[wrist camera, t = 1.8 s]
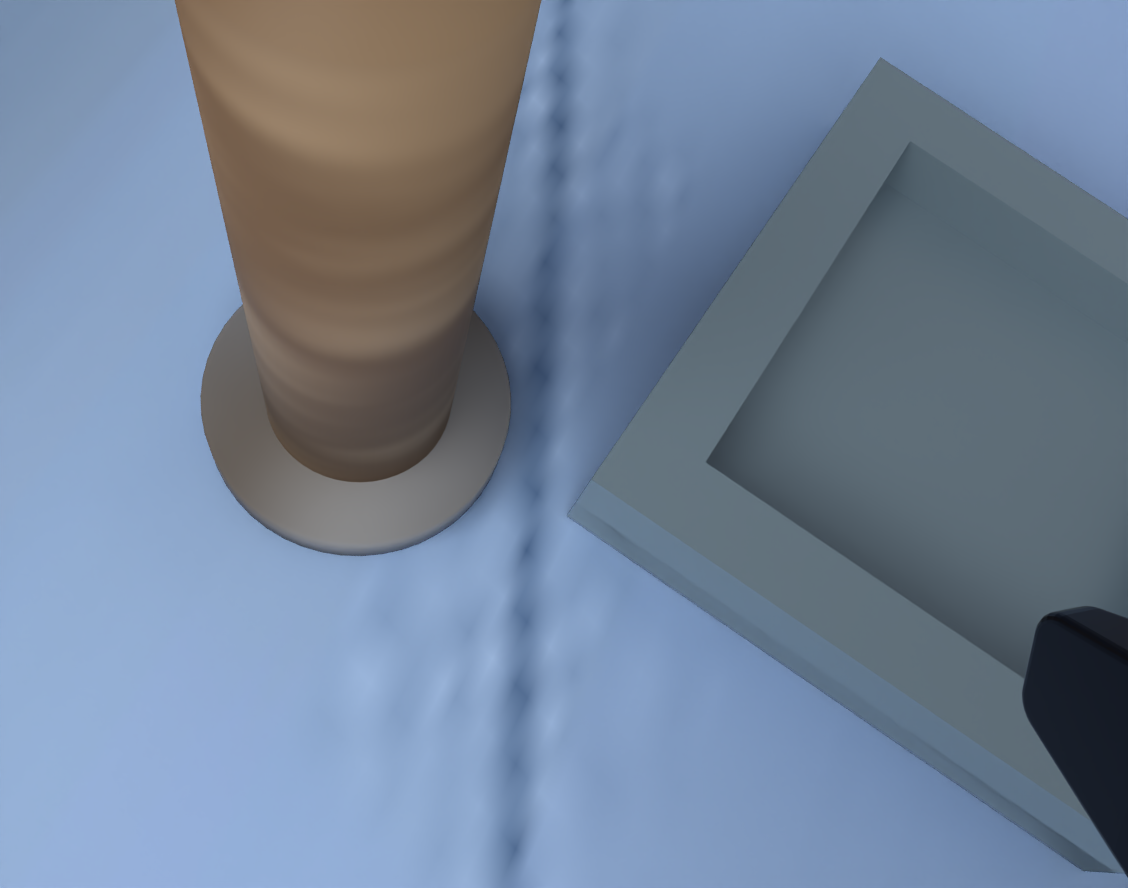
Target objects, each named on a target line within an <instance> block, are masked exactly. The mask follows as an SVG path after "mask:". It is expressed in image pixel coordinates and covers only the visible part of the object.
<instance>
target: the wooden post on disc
mask: <svg viewBox="0 0 1128 888" xmlns="http://www.w3.org/2000/svg"><path fill="white" fill-rule="evenodd" d="M540 3H541V0H175V4H176V8H177V13H178V17H179V22H180V26H181V31H182V35H183V39H184V44H185V48H186V53H187V57H188V62H189V66H190V71H191V75H192V80H193V84H194V88H195V93H196V97H197V102H198V106H199V111H200V115H201V120H202V124H203V129H204V133H205V137H206V142H207V146H208V151H209V155H210V160H211V164H212V169H213V173H214V178H215V182H216V186H217V191H218V195H219V200H220V204H221V209H222V213H223V218H224V222H225V227H226V231H227V236H228V240H229V244H230V249H231V253H232V258H233V262H234V267H235V271H236V276H237V280H238V285H239V289H240V293H241V298H242V302H243V305H242V306H241V307H240V308H239V309H238V310H237V311H236V312H235V313H234V314H233V316H232V317H231V318H230V319H229V321H228V322H227V323H226V324H225V326H224V327H223V329H222V331H221V332H220V334H219V336H218V337H217V339H216V341H215V343H214V345H213V347H212V350H211V352H210V354H209V357H208V359H207V363H206V367H205V371H204V374H203V380H202V389H201V416H202V421H203V426H204V432H205V436H206V439H207V441H208V444H209V447H210V450H211V453H212V456H213V458H214V461H215V463H216V466H217V468H218V470H219V472H220V474H221V476H222V478H223V480H224V482H225V484H226V486H227V487H228V489H229V490H230V491H231V493H232V494H233V496H234V497H235V498H236V500H237V501H238V502H239V503H240V504H241V505H242V507H243V508H244V509H245V510H246V511H247V512H248V513H249V514H250V515H251V516H252V517H253V518H255V519H256V520H257V521H258V522H260V523H261V524H262V525H263V526H265V527H266V528H267V529H269V530H271V531H272V532H274V533H276V534H277V535H279V536H281V537H282V538H284V539H286V540H289V541H291V542H293V543H296V544H298V545H300V546H303V547H306V548H309V549H313V550H316V551H320V552H324V553H331V554H337V555H350V556H366V555H376V554H384V553H389V552H393V551H398V550H402V549H405V548H407V547H410V546H413V545H416V544H418V543H421V542H423V541H425V540H427V539H429V538H431V537H433V536H435V535H437V534H438V533H440V532H441V531H443V530H444V529H446V528H447V527H448V526H450V525H451V524H453V523H454V522H455V521H456V520H457V519H459V518H460V517H461V516H462V515H463V514H464V513H465V512H466V511H467V510H468V509H469V508H470V507H471V506H472V504H473V503H474V502H475V501H476V500H477V499H478V497H479V496H480V495H481V493H482V491H483V490H484V488H485V487H486V485H487V484H488V482H489V480H490V478H491V476H492V474H493V471H494V469H495V467H496V465H497V462H498V460H499V457H500V454H501V452H502V449H503V446H504V443H505V439H506V436H507V432H508V427H509V420H510V414H511V393H510V386H509V378H508V374H507V370H506V367H505V363H504V360H503V357H502V355H501V353H500V350H499V348H498V346H497V343H496V342H495V340H494V338H493V337H492V335H491V333H490V332H489V330H488V328H487V327H486V326H485V324H484V323H483V322H482V320H481V319H480V318H479V317H478V315H477V314H476V313H475V312H474V311H473V307H474V303H475V298H476V294H477V289H478V285H479V280H480V275H481V271H482V266H483V262H484V257H485V253H486V248H487V244H488V239H489V235H490V230H491V226H492V221H493V217H494V212H495V207H496V203H497V198H498V194H499V189H500V185H501V180H502V176H503V171H504V167H505V162H506V158H507V153H508V149H509V144H510V139H511V135H512V130H513V126H514V121H515V117H516V112H517V108H518V103H519V99H520V94H521V90H522V85H523V81H524V76H525V71H526V67H527V62H528V58H529V53H530V49H531V44H532V40H533V35H534V31H535V26H536V22H537V17H538V13H539V8H540Z"/></svg>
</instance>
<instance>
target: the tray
mask: <svg viewBox="0 0 1128 888" xmlns="http://www.w3.org/2000/svg"><path fill="white" fill-rule="evenodd" d="M567 517H569V518H570V519H572V520H573V521H575V522H576V523H578V524H579V525H581V526H582V527H583V528H585V529H586V530H588V531H589V532H591V533H592V534H594V535H595V536H597V537H598V538H599V539H601V540H602V541H604V542H605V543H607V544H608V545H610V546H611V547H613V548H614V549H615V550H617V551H618V552H620V553H621V554H623V555H624V556H626V557H627V558H629V559H630V560H631V561H633V562H634V563H636V564H637V565H639V566H640V567H642V568H643V569H645V570H646V571H647V572H649V573H650V574H652V575H653V576H655V577H656V578H658V579H659V580H661V581H662V582H663V583H665V584H666V585H668V586H669V587H671V588H672V589H674V590H675V591H677V592H678V593H680V594H681V595H682V596H684V597H685V598H687V599H688V600H690V601H691V602H693V603H694V604H696V605H697V606H698V607H700V608H701V609H703V610H704V611H706V612H707V613H709V614H710V615H712V616H713V617H714V618H716V619H717V620H719V621H720V622H722V623H723V624H725V625H726V626H728V627H729V628H730V629H732V630H733V631H735V632H736V633H738V634H739V635H741V636H742V637H744V638H745V639H746V640H748V641H749V642H751V643H752V644H754V645H755V646H757V647H758V648H760V649H761V650H762V651H764V652H765V653H767V654H768V655H770V656H771V657H773V658H774V659H776V660H777V661H778V662H780V663H781V664H783V665H784V666H786V667H787V668H789V669H790V670H792V671H793V672H795V673H796V674H797V675H799V676H800V677H802V678H803V679H805V680H806V681H808V682H809V683H811V684H812V685H813V686H815V687H816V688H818V689H819V690H821V691H822V692H824V693H825V694H827V695H828V696H829V697H831V698H832V699H834V700H835V701H837V702H838V703H840V704H841V705H843V706H844V707H845V708H847V709H848V710H850V711H851V712H853V713H854V714H856V715H857V716H859V717H860V718H861V719H863V720H864V721H866V722H867V723H869V724H870V725H872V726H873V727H875V728H876V729H877V730H879V731H880V732H882V733H883V734H885V735H886V736H888V737H889V738H891V739H892V740H893V741H895V742H896V743H898V744H899V745H901V746H902V747H904V748H905V749H907V750H908V751H909V752H911V753H912V754H914V755H915V756H917V757H918V758H920V759H921V760H923V761H924V762H926V763H927V764H928V765H930V766H931V767H933V768H934V769H936V770H937V771H939V772H940V773H942V774H943V775H944V776H946V777H947V778H949V779H950V780H952V781H953V782H955V783H956V784H958V785H959V786H960V787H962V788H963V789H965V790H966V791H968V792H969V793H971V794H972V795H974V796H975V797H976V798H978V799H979V800H981V801H982V802H984V803H985V804H987V805H988V806H990V807H991V808H992V809H994V810H995V811H997V812H998V813H1000V814H1001V815H1003V816H1004V817H1006V818H1007V819H1008V820H1010V821H1011V822H1013V823H1014V824H1016V825H1017V826H1019V827H1020V828H1022V829H1023V830H1024V831H1026V832H1027V833H1029V834H1030V835H1032V836H1033V837H1035V838H1036V839H1038V840H1039V841H1041V842H1042V843H1043V844H1045V845H1046V846H1048V847H1049V848H1051V849H1052V850H1054V851H1055V852H1057V853H1058V854H1059V855H1061V856H1062V857H1064V858H1065V859H1067V860H1068V861H1070V862H1071V863H1073V864H1074V865H1075V866H1077V867H1078V868H1080V869H1081V870H1083V871H1092V872H1108V873H1123V874H1125V873H1124V871H1123V870H1122V868H1121V867H1120V865H1119V864H1118V862H1117V861H1116V859H1115V858H1114V856H1113V855H1112V853H1111V851H1110V850H1109V848H1108V847H1107V845H1106V843H1105V842H1104V840H1103V839H1102V837H1101V835H1100V834H1099V832H1098V831H1097V829H1096V828H1095V826H1094V824H1093V823H1092V821H1091V820H1090V818H1089V816H1088V815H1087V813H1086V812H1085V810H1084V808H1083V807H1082V805H1081V804H1080V802H1079V801H1078V799H1077V797H1076V796H1075V794H1074V793H1073V791H1072V789H1071V788H1070V786H1069V785H1068V783H1067V781H1066V780H1065V778H1064V777H1063V775H1062V774H1061V772H1060V770H1059V769H1058V767H1057V766H1056V764H1055V762H1054V761H1053V759H1052V758H1051V756H1050V754H1049V753H1048V751H1047V750H1046V748H1045V746H1044V745H1043V743H1042V742H1041V740H1040V739H1039V737H1038V735H1037V734H1036V732H1035V731H1034V729H1033V727H1032V726H1031V724H1030V722H1029V720H1028V718H1027V716H1026V713H1025V711H1024V707H1023V702H1022V688H1023V683H1024V678H1025V674H1026V669H1027V665H1028V660H1029V656H1030V651H1031V647H1032V642H1033V638H1034V633H1035V629H1036V626H1037V624H1038V623H1039V621H1040V620H1041V619H1042V617H1043V616H1045V615H1047V614H1048V613H1051V612H1055V611H1060V610H1065V609H1070V608H1075V607H1080V606H1094V607H1098V608H1101V609H1104V610H1106V611H1109V612H1112V613H1115V614H1118V615H1121V616H1123V617H1126V618H1128V219H1127V218H1125V217H1124V216H1122V215H1121V214H1119V213H1118V212H1116V211H1115V210H1113V209H1112V208H1110V207H1109V206H1107V205H1105V204H1104V203H1102V202H1101V201H1099V200H1098V199H1096V198H1095V197H1093V196H1092V195H1090V194H1089V193H1087V192H1086V191H1084V190H1083V189H1081V188H1079V187H1078V186H1076V185H1075V184H1073V183H1072V182H1070V181H1069V180H1067V179H1066V178H1064V177H1063V176H1061V175H1060V174H1058V173H1057V172H1055V171H1053V170H1052V169H1050V168H1049V167H1047V166H1046V165H1044V164H1043V163H1041V162H1040V161H1038V160H1037V159H1035V158H1034V157H1032V156H1031V155H1029V154H1027V153H1026V152H1024V151H1023V150H1021V149H1020V148H1018V147H1017V146H1015V145H1014V144H1012V143H1011V142H1009V141H1008V140H1006V139H1005V138H1003V137H1001V136H1000V135H998V134H997V133H995V132H994V131H992V130H991V129H989V128H988V127H986V126H985V125H983V124H982V123H980V122H979V121H977V120H975V119H974V118H972V117H971V116H969V115H968V114H966V113H965V112H963V111H962V110H960V109H959V108H957V107H956V106H954V105H953V104H951V103H949V102H948V101H946V100H945V99H943V98H942V97H940V96H939V95H937V94H936V93H934V92H933V91H931V90H930V89H928V88H927V87H925V86H923V85H922V84H920V83H919V82H917V81H916V80H914V79H913V78H911V77H910V76H908V75H907V74H905V73H904V72H902V71H901V70H899V69H897V68H896V67H894V66H893V65H891V64H890V63H888V62H887V61H885V60H884V59H882V58H881V57H880V59H879V60H878V62H877V63H876V65H875V66H874V68H873V69H872V70H871V72H870V73H869V75H868V76H867V78H866V79H865V81H864V82H863V84H862V85H861V86H860V88H859V89H858V91H857V92H856V94H855V95H854V97H853V98H852V100H851V101H850V103H849V104H848V105H847V107H846V108H845V110H844V111H843V113H842V114H841V116H840V117H839V119H838V120H837V121H836V123H835V124H834V126H833V127H832V129H831V130H830V132H829V133H828V135H827V136H826V138H825V139H824V140H823V142H822V143H821V145H820V146H819V148H818V149H817V151H816V152H815V154H814V155H813V157H812V158H811V159H810V161H809V162H808V164H807V165H806V167H805V168H804V170H803V171H802V173H801V174H800V175H799V177H798V178H797V180H796V181H795V183H794V184H793V186H792V187H791V189H790V190H789V192H788V193H787V194H786V196H785V197H784V199H783V200H782V202H781V203H780V205H779V206H778V208H777V209H776V210H775V212H774V213H773V215H772V216H771V218H770V219H769V221H768V222H767V224H766V225H765V227H764V228H763V229H762V231H761V232H760V234H759V235H758V237H757V238H756V240H755V241H754V243H753V244H752V245H751V247H750V248H749V250H748V251H747V253H746V254H745V256H744V257H743V259H742V260H741V262H740V263H739V264H738V266H737V267H736V269H735V270H734V272H733V273H732V275H731V276H730V278H729V279H728V281H727V282H726V283H725V285H724V286H723V288H722V289H721V291H720V292H719V294H718V295H717V297H716V298H715V299H714V301H713V302H712V304H711V305H710V307H709V308H708V310H707V311H706V313H705V314H704V316H703V317H702V318H701V320H700V321H699V323H698V324H697V326H696V327H695V329H694V330H693V332H692V333H691V334H690V336H689V337H688V339H687V340H686V342H685V343H684V345H683V346H682V348H681V349H680V351H679V352H678V353H677V355H676V356H675V358H674V359H673V361H672V362H671V364H670V365H669V367H668V368H667V370H666V371H665V372H664V374H663V375H662V377H661V378H660V380H659V381H658V383H657V384H656V386H655V387H654V388H653V390H652V391H651V393H650V394H649V396H648V397H647V399H646V400H645V402H644V403H643V405H642V406H641V407H640V409H639V410H638V412H637V413H636V415H635V416H634V418H633V419H632V421H631V422H630V423H629V425H628V426H627V428H626V429H625V431H624V432H623V434H622V435H621V437H620V438H619V440H618V441H617V442H616V444H615V445H614V447H613V448H612V450H611V451H610V453H609V454H608V456H607V457H606V459H605V460H604V461H603V463H602V464H601V466H600V467H599V469H598V470H597V472H596V473H595V475H594V476H593V477H592V479H591V480H590V482H589V483H588V485H587V486H586V488H585V489H584V491H583V492H582V494H581V495H580V497H579V498H578V500H577V501H576V503H575V504H574V506H573V507H572V509H571V510H570V512H569V513H568V515H567Z"/></svg>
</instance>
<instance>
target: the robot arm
mask: <svg viewBox="0 0 1128 888" xmlns="http://www.w3.org/2000/svg"><path fill="white" fill-rule="evenodd" d="M1022 702H1023V707H1024V711H1025V713H1026V716H1027V718H1028V720H1029V722H1030V724H1031V726H1032V727H1033V729H1034V731H1035V732H1036V734H1037V735H1038V737H1039V739H1040V740H1041V742H1042V743H1043V745H1044V746H1045V748H1046V750H1047V751H1048V753H1049V754H1050V756H1051V758H1052V759H1053V761H1054V762H1055V764H1056V766H1057V767H1058V769H1059V770H1060V772H1061V774H1062V775H1063V777H1064V778H1065V780H1066V781H1067V783H1068V785H1069V786H1070V788H1071V789H1072V791H1073V793H1074V794H1075V796H1076V797H1077V799H1078V801H1079V802H1080V804H1081V805H1082V807H1083V808H1084V810H1085V812H1086V813H1087V815H1088V816H1089V818H1090V820H1091V821H1092V823H1093V824H1094V826H1095V828H1096V829H1097V831H1098V832H1099V834H1100V835H1101V837H1102V839H1103V840H1104V842H1105V843H1106V845H1107V847H1108V848H1109V850H1110V851H1111V853H1112V855H1113V856H1114V858H1115V859H1116V861H1117V862H1118V864H1119V865H1120V867H1121V868H1122V870H1123V871H1124V873H1125V874H1126V876H1127V877H1128V618H1126V617H1123V616H1121V615H1118V614H1115V613H1112V612H1109V611H1106V610H1104V609H1101V608H1098V607H1094V606H1080V607H1075V608H1070V609H1065V610H1060V611H1055V612H1051V613H1048V614H1047V615H1045V616H1043V617H1042V619H1041V620H1040V621H1039V623H1038V624H1037V626H1036V629H1035V633H1034V638H1033V642H1032V647H1031V651H1030V656H1029V660H1028V665H1027V669H1026V674H1025V678H1024V683H1023V688H1022Z"/></svg>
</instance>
